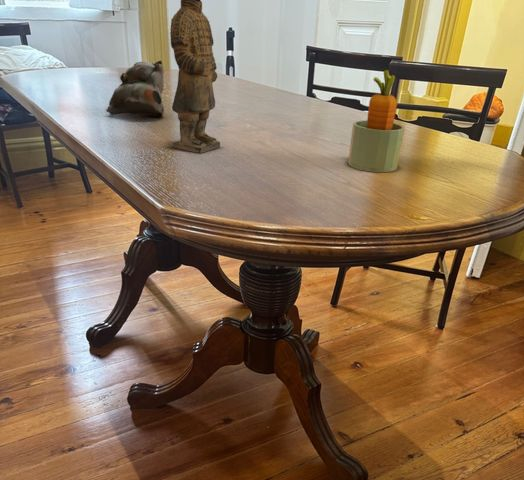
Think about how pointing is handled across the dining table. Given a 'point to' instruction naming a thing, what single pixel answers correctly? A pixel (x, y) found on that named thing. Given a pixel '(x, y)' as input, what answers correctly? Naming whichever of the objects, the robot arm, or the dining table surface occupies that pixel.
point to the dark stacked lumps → (139, 91)
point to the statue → (193, 76)
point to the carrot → (382, 105)
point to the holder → (375, 147)
